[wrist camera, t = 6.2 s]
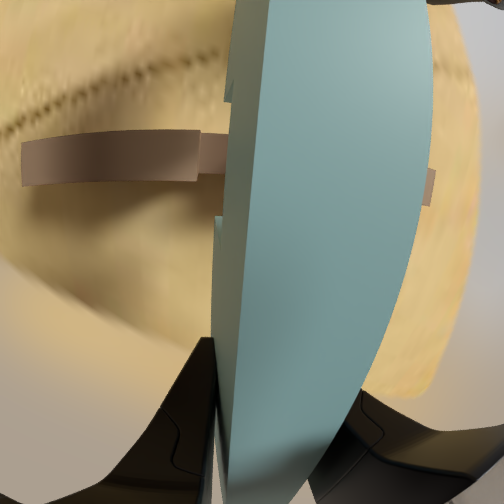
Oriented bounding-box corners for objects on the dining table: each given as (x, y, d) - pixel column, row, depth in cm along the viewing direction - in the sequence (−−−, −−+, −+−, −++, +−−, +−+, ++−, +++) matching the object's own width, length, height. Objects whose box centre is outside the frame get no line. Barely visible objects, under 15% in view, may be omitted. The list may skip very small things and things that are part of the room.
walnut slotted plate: (376, 157, 17) (436, 170, 12) (372, 185, 18) (429, 206, 13) (74, 138, 14) (21, 142, 8) (74, 169, 14) (22, 186, 9)
